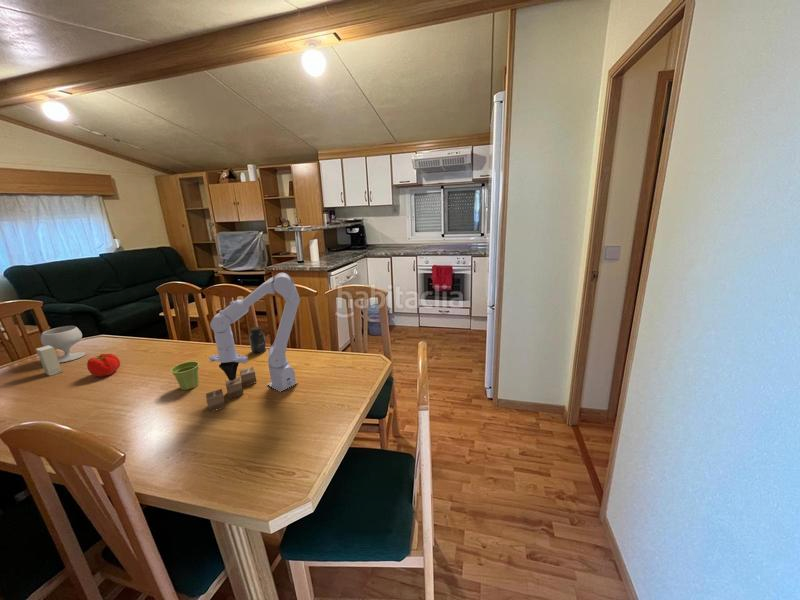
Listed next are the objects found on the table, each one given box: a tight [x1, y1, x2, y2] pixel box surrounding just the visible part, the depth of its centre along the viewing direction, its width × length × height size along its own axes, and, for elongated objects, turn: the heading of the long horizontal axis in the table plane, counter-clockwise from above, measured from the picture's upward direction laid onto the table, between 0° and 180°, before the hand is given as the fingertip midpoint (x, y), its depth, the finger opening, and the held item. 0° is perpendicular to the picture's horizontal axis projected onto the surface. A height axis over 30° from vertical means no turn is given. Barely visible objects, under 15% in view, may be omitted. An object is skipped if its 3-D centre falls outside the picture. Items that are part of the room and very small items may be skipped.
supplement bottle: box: [248, 326, 267, 355], centre depth 157 cm, size 7×7×12 cm
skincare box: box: [35, 345, 63, 376], centre depth 142 cm, size 6×4×12 cm
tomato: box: [86, 353, 121, 377], centre depth 140 cm, size 11×11×9 cm
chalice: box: [40, 325, 86, 364], centre depth 157 cm, size 14×14×15 cm
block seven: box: [239, 366, 257, 387], centre depth 129 cm, size 5×5×5 cm
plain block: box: [224, 376, 244, 399], centre depth 121 cm, size 5×5×5 cm
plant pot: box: [170, 360, 200, 391], centre depth 126 cm, size 9×9×9 cm
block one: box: [205, 388, 226, 412], centre depth 113 cm, size 5×5×5 cm
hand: (232, 379), depth 120 cm, fingers closed
